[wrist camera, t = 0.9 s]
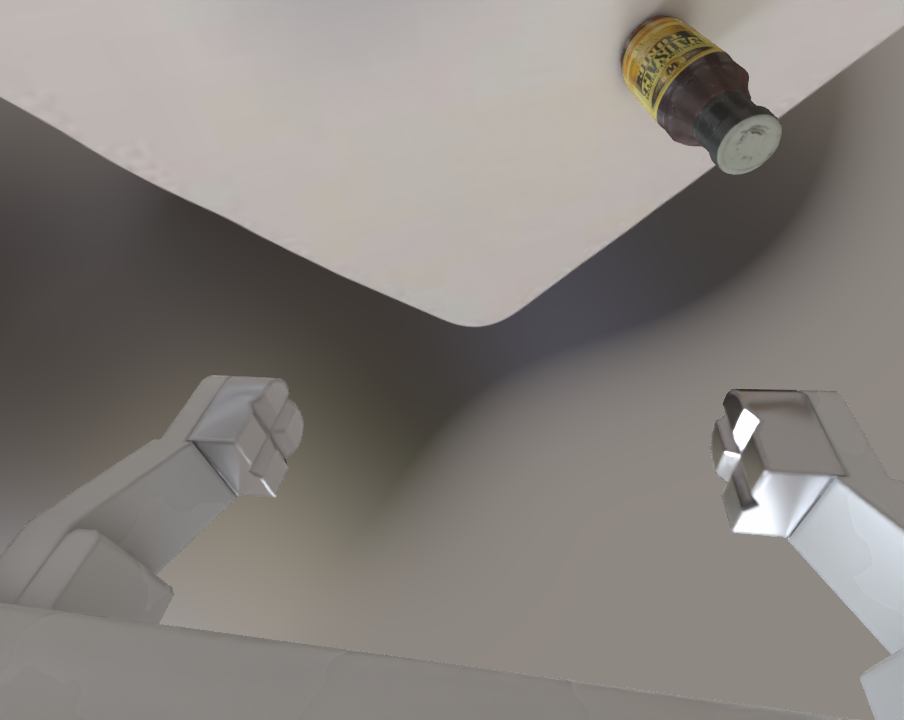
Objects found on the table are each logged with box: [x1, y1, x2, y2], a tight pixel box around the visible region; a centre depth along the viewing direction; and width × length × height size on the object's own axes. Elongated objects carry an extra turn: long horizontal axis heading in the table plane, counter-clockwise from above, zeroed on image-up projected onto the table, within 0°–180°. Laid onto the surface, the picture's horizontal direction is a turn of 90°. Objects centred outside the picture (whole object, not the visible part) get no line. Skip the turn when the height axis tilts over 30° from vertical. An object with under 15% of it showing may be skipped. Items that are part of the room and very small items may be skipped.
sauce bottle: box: [620, 16, 782, 174], centre depth 38 cm, size 7×6×20 cm
